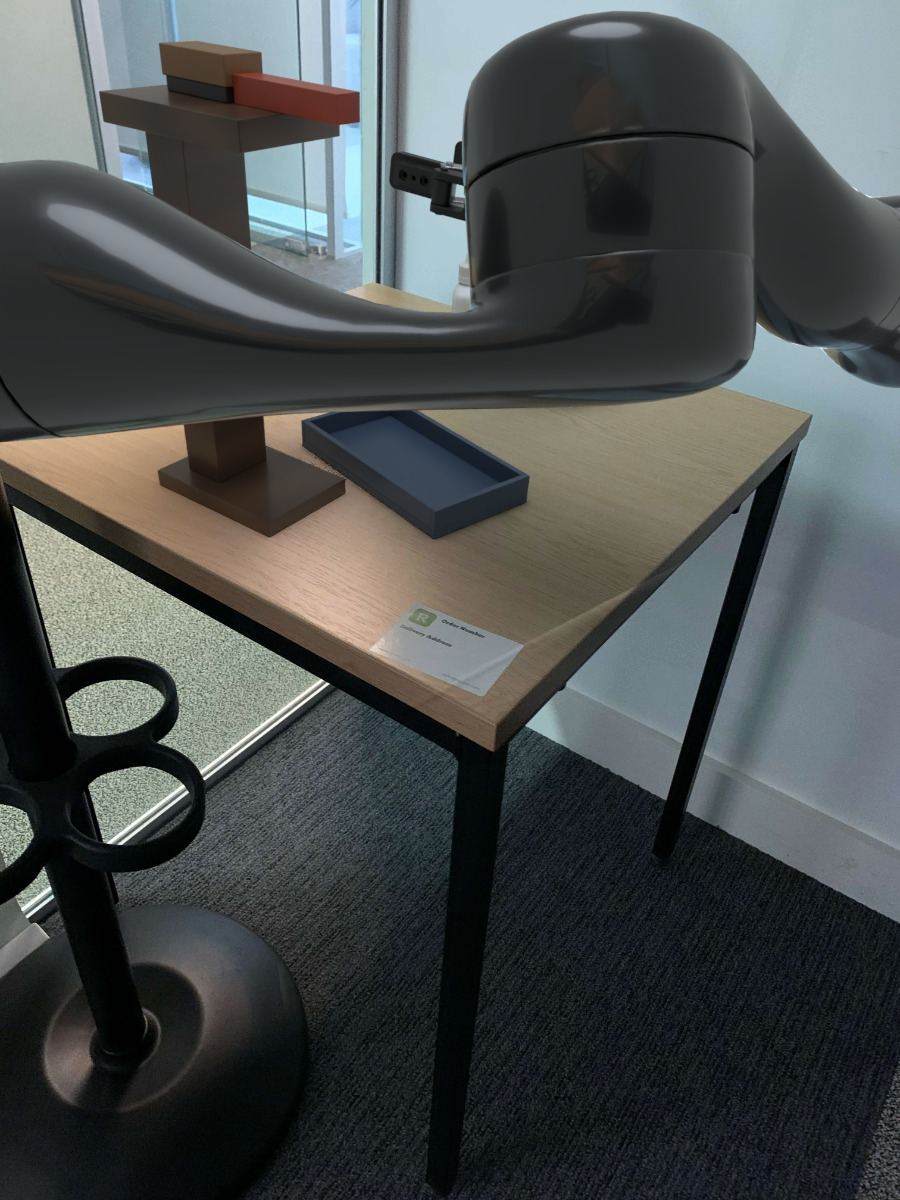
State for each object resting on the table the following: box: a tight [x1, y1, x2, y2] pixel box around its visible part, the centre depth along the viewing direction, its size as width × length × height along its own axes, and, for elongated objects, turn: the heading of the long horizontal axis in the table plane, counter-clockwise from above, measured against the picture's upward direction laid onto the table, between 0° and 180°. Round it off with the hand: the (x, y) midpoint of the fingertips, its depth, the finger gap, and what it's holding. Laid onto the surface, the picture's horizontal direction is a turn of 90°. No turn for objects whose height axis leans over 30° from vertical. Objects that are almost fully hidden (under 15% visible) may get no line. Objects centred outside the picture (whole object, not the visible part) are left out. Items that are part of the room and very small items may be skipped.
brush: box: [158, 40, 361, 126], centre depth 63 cm, size 17×4×3 cm, turn 51°
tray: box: [300, 410, 531, 540], centre depth 87 cm, size 21×11×3 cm, turn 40°
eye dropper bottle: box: [451, 252, 471, 312], centre depth 111 cm, size 4×6×12 cm
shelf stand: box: [98, 84, 347, 538], centre depth 74 cm, size 14×10×32 cm
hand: (425, 161), depth 63 cm, fingers open, 8 cm apart
